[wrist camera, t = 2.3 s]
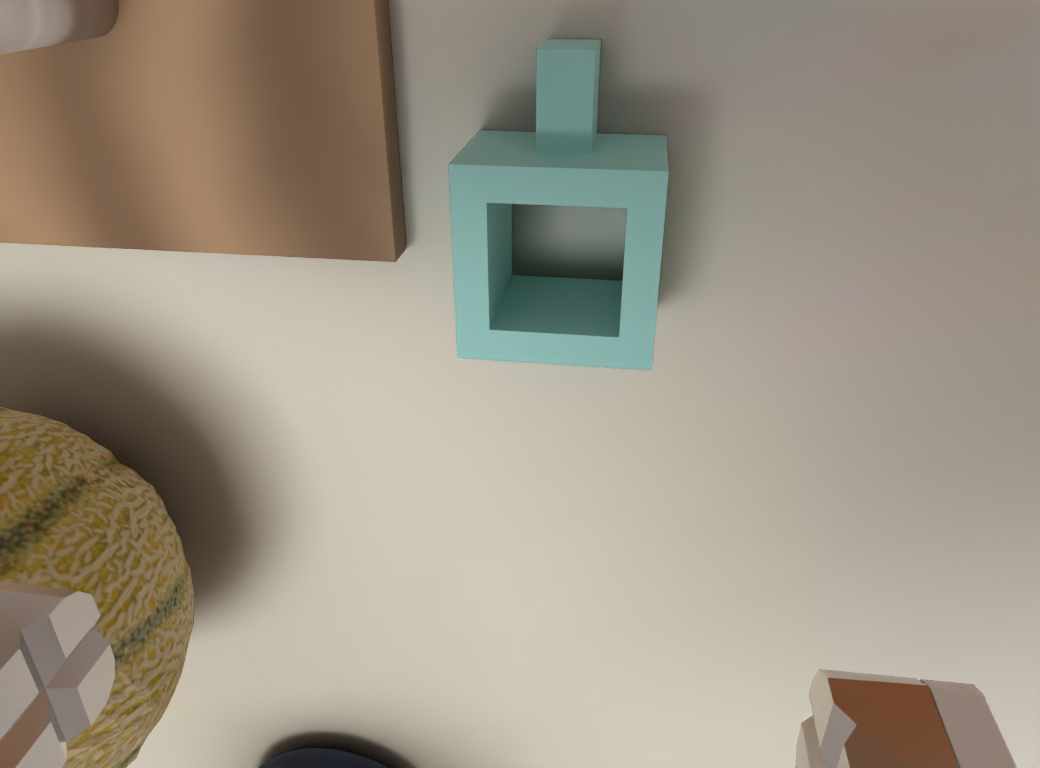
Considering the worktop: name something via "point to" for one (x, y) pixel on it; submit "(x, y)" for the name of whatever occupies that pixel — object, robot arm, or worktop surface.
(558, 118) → the teal frame with handle
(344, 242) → the board
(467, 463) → the worktop surface
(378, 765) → the canister
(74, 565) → the cantaloupe
